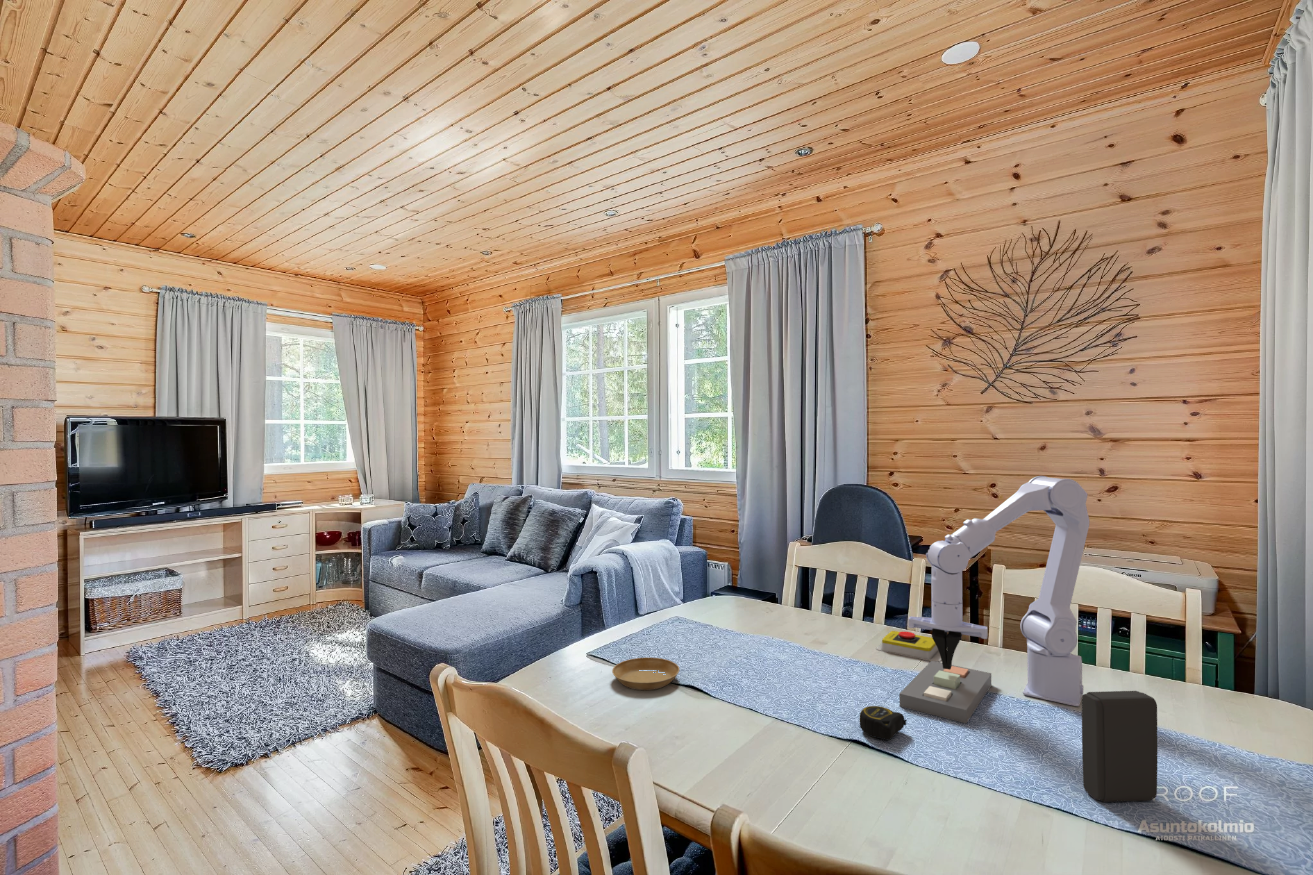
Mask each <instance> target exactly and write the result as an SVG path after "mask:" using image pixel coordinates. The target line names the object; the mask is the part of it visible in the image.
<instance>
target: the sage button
mask: <svg viewBox="0 0 1313 875" xmlns="http://www.w3.org/2000/svg"><path fill="white" fill-rule="evenodd" d="M934 684H935V685H939V686H943V687H948V688H952V689H957V688H958V687H959V686H960V675H958V674H954V673H949V672H944V671H940V670H939V671H938V672H937V673H936V675H935V676H934Z"/></svg>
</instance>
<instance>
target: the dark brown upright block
mask: <svg viewBox="0 0 1313 875" xmlns="http://www.w3.org/2000/svg"><path fill="white" fill-rule="evenodd" d="M1081 752H1082V753H1081V754H1082V760H1081V762H1082V783H1083V788H1084V791H1085V792H1086V793H1087V794H1088V795H1089V796H1091V798H1093V799H1094V800H1096V801H1100V802H1103V803H1111V802H1112V803H1113V802H1114V803H1116V802H1144V801H1149V802H1150V801H1152V800H1153V799H1155V798H1157V795H1158V705H1157V702H1156V699H1155V698H1154V697H1152V696H1151V695H1148V694H1146V693H1144V692H1139V691H1137V690H1119V691H1118V690H1115V691H1114V690H1112V691H1108V690H1107V691H1088V692H1086V693H1083V695H1082V698H1081Z"/></svg>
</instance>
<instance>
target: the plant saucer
mask: <svg viewBox="0 0 1313 875" xmlns="http://www.w3.org/2000/svg"><path fill="white" fill-rule="evenodd" d="M639 670H657V671H639ZM658 670H659V672H665V673H658ZM611 672H612V674H613V676H614V678H616V680H618V682H619V683H620V684H621V685H623V686H624V687H627V688H629V689H632V690H636V691H637V690H638V691H651V690H658V689H661V688H664V687H666V686H668V685H669V684H670V683H671V682H673V680H675V678H676V677H677V676H678V674H679V673H680V667H679V665H678V664H677V663H675V662H674V661H672V660H669V659H665V658H660V657H637V658H635V657H634V658H630V659H627V660H623V661H621V662H618V663H617V664H616V665H614V666H613V668H612V670H611ZM653 672H656V673H653ZM663 674H666V675H663Z"/></svg>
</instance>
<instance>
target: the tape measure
mask: <svg viewBox="0 0 1313 875" xmlns="http://www.w3.org/2000/svg"><path fill="white" fill-rule="evenodd" d="M907 722H908V720H907V719H905V716H904V715H903V713H900V712H897V711H892V709H889V708H887V707H885V706H878V705H870V706H865V707H864V708H862V709H861V711H860V713H859V727H860V729H861V731H862V732H863V733H864V734H866V735H867V736H870V737H873V738H878V739H882V740H887V741H888V740H891V739H892V738H894V736H895V735H896V734H898V732H900V731H901V730H903V728H904V726H907Z"/></svg>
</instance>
